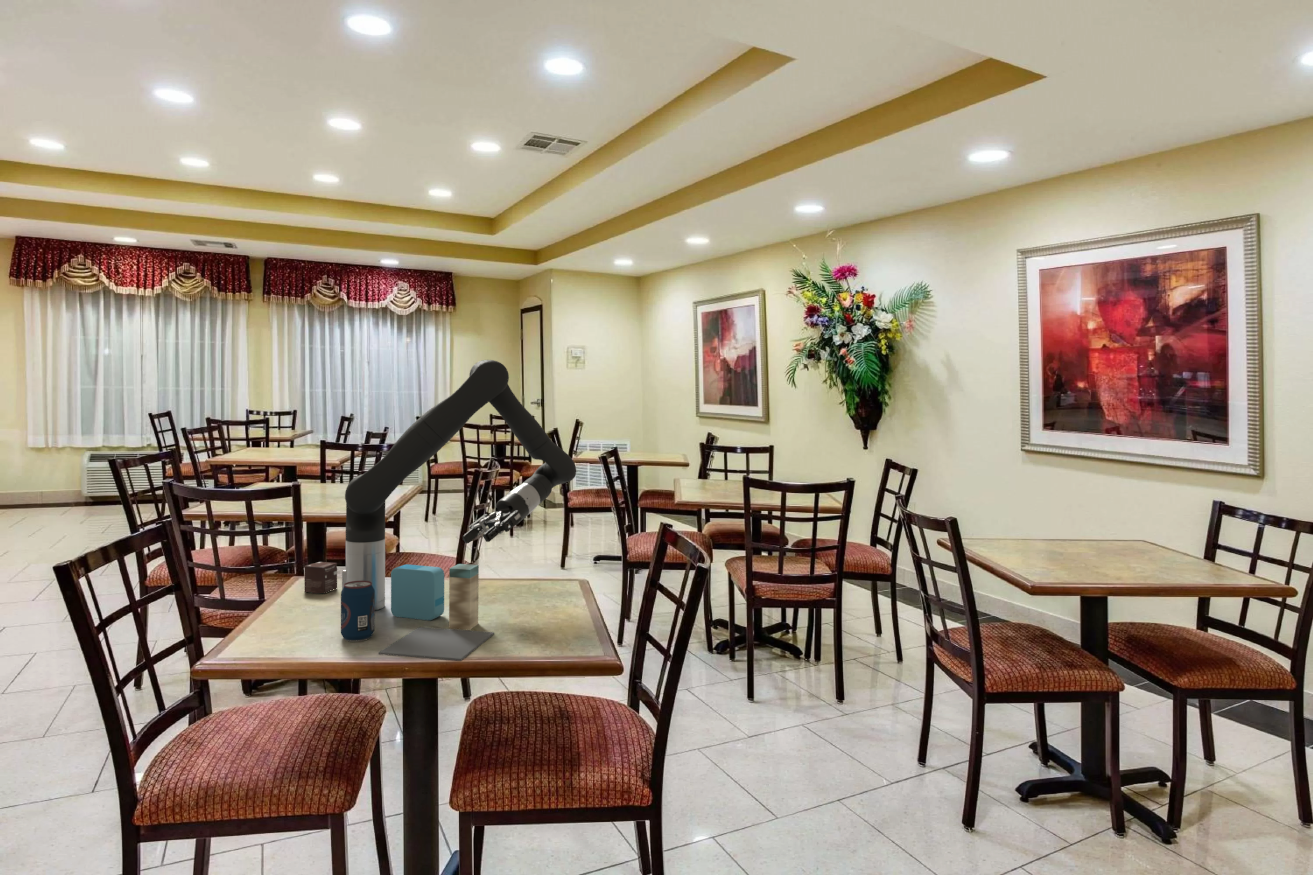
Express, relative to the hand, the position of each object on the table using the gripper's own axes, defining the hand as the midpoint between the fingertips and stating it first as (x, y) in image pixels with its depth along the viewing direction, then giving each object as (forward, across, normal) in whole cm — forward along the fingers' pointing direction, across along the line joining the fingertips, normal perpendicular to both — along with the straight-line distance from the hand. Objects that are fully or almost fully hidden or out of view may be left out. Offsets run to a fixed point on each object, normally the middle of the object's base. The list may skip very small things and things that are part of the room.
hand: (474, 539), depth 185 cm
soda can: (+32, -8, +3) cm, 34 cm away
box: (+17, -52, +2) cm, 54 cm away
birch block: (+15, +1, +14) cm, 20 cm away
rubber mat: (+25, +8, +10) cm, 28 cm away
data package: (+16, -13, +11) cm, 23 cm away
